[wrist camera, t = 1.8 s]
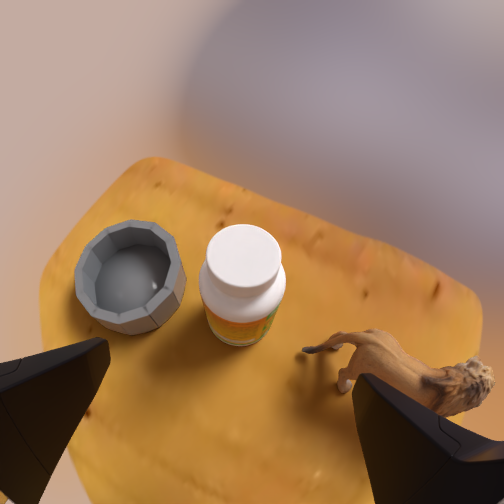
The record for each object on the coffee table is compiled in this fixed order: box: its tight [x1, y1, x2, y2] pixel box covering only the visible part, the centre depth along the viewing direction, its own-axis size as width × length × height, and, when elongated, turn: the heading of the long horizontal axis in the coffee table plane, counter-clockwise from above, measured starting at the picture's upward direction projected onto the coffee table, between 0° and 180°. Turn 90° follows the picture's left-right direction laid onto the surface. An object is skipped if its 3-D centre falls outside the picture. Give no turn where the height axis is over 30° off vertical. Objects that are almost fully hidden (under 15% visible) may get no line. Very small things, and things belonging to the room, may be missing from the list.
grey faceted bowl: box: [75, 220, 187, 335], centre depth 22 cm, size 10×10×3 cm
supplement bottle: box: [199, 224, 286, 346], centre depth 18 cm, size 5×5×10 cm
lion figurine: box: [302, 329, 495, 418], centre depth 16 cm, size 15×5×9 cm, turn 64°
